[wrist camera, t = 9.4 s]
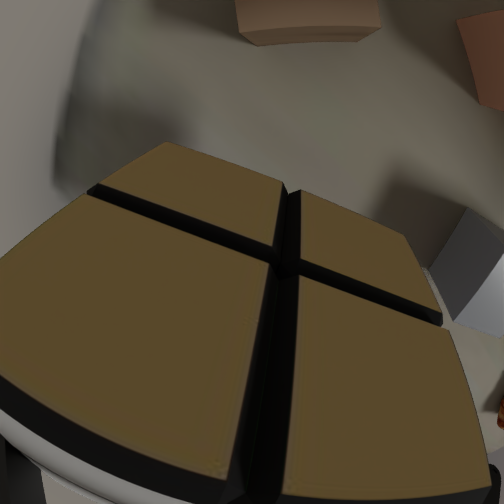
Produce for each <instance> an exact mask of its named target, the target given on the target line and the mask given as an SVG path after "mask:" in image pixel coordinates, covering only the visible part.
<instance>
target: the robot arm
mask: <svg viewBox="0 0 504 504" xmlns="http://www.w3.org/2000/svg"><path fill="white" fill-rule="evenodd" d="M489 469H490V474H491V480H492V487H491V489H490V491H489V493H488V494H487V496H486V498H485V500H484V502H483V503H482V504H499V498H500V487H501V475H500V472H499V470H498V469H497V468H496V467H495V466H494V465H492V464H489ZM0 504H46V499H45V494H44V488H43V482H42V476H41V470H40V468H39V467H37V466H36V465H35V464H34V463H32V462H31V461H30V460H29V459H28V458H26V457H25V456H24V455H23V454H22V453H21V452H20V450H18V449H17V448H15V447H14V446H13V445H11V444H10V443H9V442H8V441H7V440H6V439H5V438H4V437H3V436H2V435H1V434H0Z"/></svg>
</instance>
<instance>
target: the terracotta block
mask: <svg viewBox="0 0 504 504" xmlns="http://www.w3.org/2000/svg"><path fill="white" fill-rule="evenodd" d="M456 23H457V25H458V28H459V31H460V34H461V37H462V40H463V43H464V46H465V49H466V52H467V56H468V59H469V63H470V66H471V70H472V74H473V77H474V82H475V86H476V90H477V94H478V99H479V104H480V105H483V106H487V107H490V108H494V109H497V110H500V111H504V10H498V11H493V12H488V13H483V14H479V15H474V16H470V17H466V18H462V19H458V20H456Z"/></svg>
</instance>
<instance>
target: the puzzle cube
mask: <svg viewBox="0 0 504 504" xmlns="http://www.w3.org/2000/svg"><path fill="white" fill-rule="evenodd" d="M442 324H443V315H442V311H441V309H440V307H439V304H438V302H437V300H436V298H435V295H434V293H433V291H432V289H431V287H430V285H429V283H428V280H427V278H426V276H425V274H424V272H423V270H422V268H421V266H420V264H419V262H418V260H417V258H416V256H415V254H414V253H413V251H412V249H411V247H410V245H409V243H408V241H407V239H406V238H405V236H404V235H403V234H401V233H399V232H397V231H394V230H392V229H390V228H388V227H386V226H384V225H382V224H380V223H377V222H375V221H373V220H371V219H369V218H366V217H364V216H362V215H360V214H358V213H355V212H353V211H351V210H348V209H346V208H344V207H342V206H339V205H337V204H335V203H332V202H330V201H328V200H325V199H323V198H320V197H318V196H316V195H313V194H311V193H308V192H306V191H303V190H301V189H300V190H298V191H295V192H292V193H290V194H288V192H287V190H286V188H285V186H284V184H283V182H281V181H279V180H276V179H274V178H271V177H268V176H266V175H263V174H260V173H258V172H255V171H252V170H250V169H247V168H244V167H241V166H239V165H236V164H233V163H230V162H227V161H225V160H222V159H219V158H216V157H213V156H210V155H207V154H204V153H201V152H198V151H195V150H192V149H189V148H186V147H183V146H180V145H177V144H173V143H170V142H167V141H166V142H164V143H162V144H161V145H159V146H157V147H155V148H154V149H152V150H150V151H148V152H147V153H145V154H143V155H142V156H140V157H138V158H137V159H135V160H133V161H132V162H130V163H129V164H127V165H125V166H124V167H122V168H121V169H119V170H117V171H116V172H114V173H113V174H111V175H110V176H108V177H107V178H105V179H103V180H102V181H100V182H99V183H98V184H96V185H95V186H93V187H92V188H90V189H89V190H88V191H87V194H85V193H84V194H82V195H81V196H79V197H78V198H77V199H75V200H74V201H72V202H71V203H70V204H68V205H67V206H65V207H64V208H63V209H61V210H60V211H59V212H57V213H56V214H54V215H53V216H52V217H51V218H49V219H48V220H47V221H45V222H44V223H43V224H41V225H40V226H39V227H38V228H36V229H35V230H34V231H33V232H31V233H30V234H29V235H28V236H26V237H25V238H24V239H23V240H21V241H20V242H19V243H18V244H17V245H15V246H14V247H13V248H12V249H11V250H10V251H9V252H7V253H6V254H5V255H4V256H3V257H2V258H1V259H0V434H1V435H2V436H3V437H4V438H5V439H6V440H7V441H8V442H9V443H10V444H11V445H13V446H14V447H15V448H17V449H18V450H20V452H21V453H22V454H23V455H24V456H25V457H26V458H28V459H29V460H30V461H31V462H32V463H34V464H35V465H36V466H37V467H39V468H40V470H41V471H43V472H44V473H45V474H46V475H47V476H49V477H50V478H51V479H53V480H54V481H56V482H57V483H59V484H61V485H63V486H65V487H67V488H68V489H70V490H72V491H74V492H76V493H78V494H80V495H82V496H84V497H86V498H88V499H90V500H92V501H94V502H96V503H99V504H482V503H483V502H484V500H485V498H486V496H487V494H488V493H489V491H490V489H491V487H492V480H491V474H490V469H489V463H488V459H487V453H486V448H485V444H484V440H483V435H482V431H481V427H480V423H479V419H478V416H477V412H476V408H475V405H474V401H473V398H472V395H471V391H470V388H469V385H468V382H467V379H466V376H465V373H464V370H463V367H462V364H461V361H460V358H459V356H458V353H457V350H456V348H455V345H454V342H453V340H452V337H451V335H450V332H449V330H447V329H444V328H441V326H442Z"/></svg>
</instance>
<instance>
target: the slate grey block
mask: <svg viewBox="0 0 504 504" xmlns="http://www.w3.org/2000/svg"><path fill="white" fill-rule="evenodd" d="M428 271H429V273H430V275H431V276H432V278H433V280H434V282H435V284H436V286H437V288H438V290H439V293H440V295H441V297H442V299H443V301H444V303H445V305H446V307H447V309H448V312H449V314H450V316H451V318H452V321H453V322H455V323H458V324H461V325H464V326H466V327H469V328H472V329H475V330H477V331H480V332H483V333H486V334H489V335H491V336H494V337H497V338H501V337H502V336H503V335H504V231H503V230H502V229H500V228H499V227H497V226H496V225H494V224H493V223H491V222H490V221H488V220H487V219H485V218H484V217H482V216H481V215H479V214H478V213H476V212H475V211H473V210H472V209H470V208H469V207H467V209H466V211H465V212H464V214H463V216H462V218H461V219H460V221H459V223H458V224H457V226H456V228H455V229H454V231H453V233H452V234H451V236H450V238H449V239H448V241H447V242H446V244H445V246H444V247H443V249H442V250H441V252H440V253H439V255H438V256H437V258H436V259H435V261H434V262H433V264H432V265H431V267H430V268H429V270H428Z"/></svg>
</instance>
